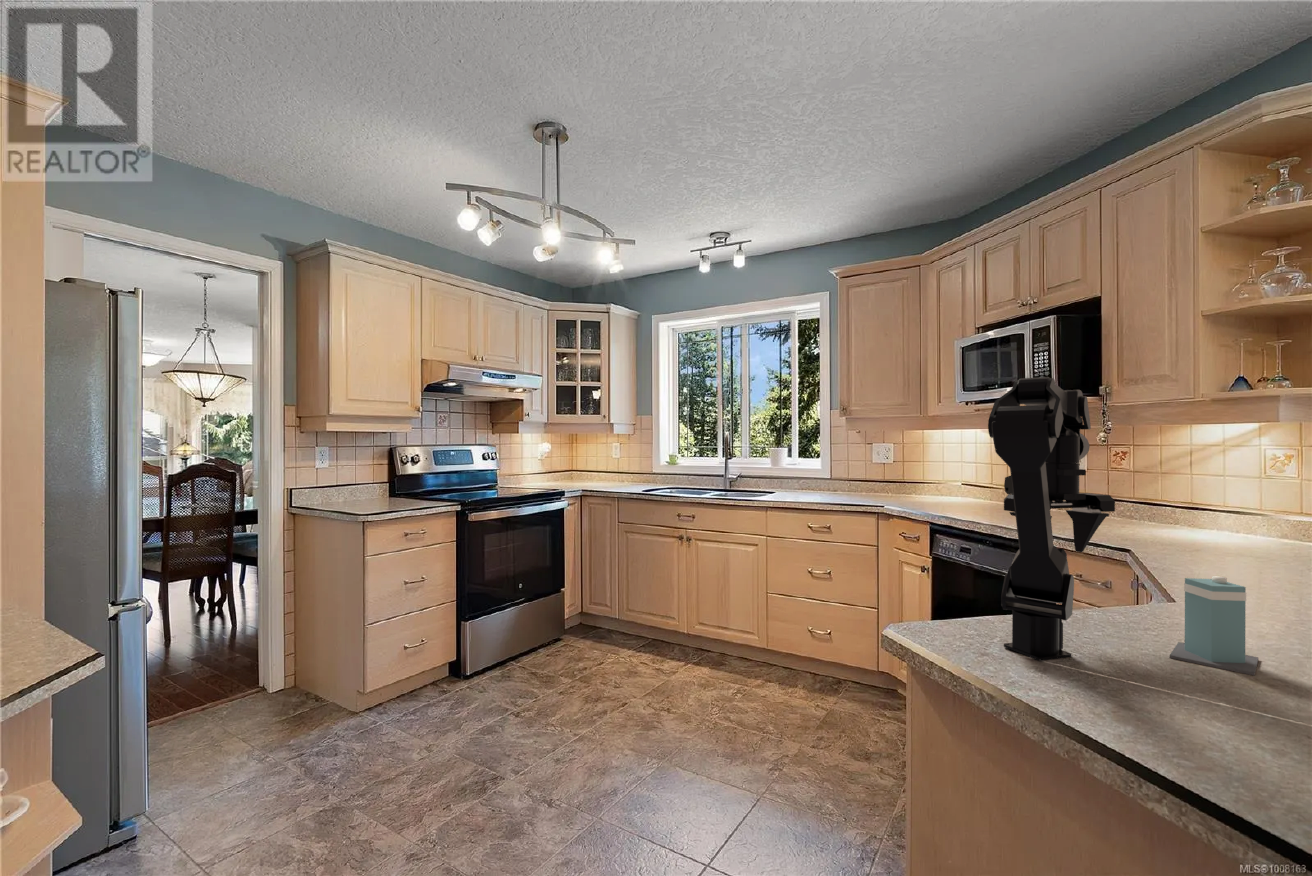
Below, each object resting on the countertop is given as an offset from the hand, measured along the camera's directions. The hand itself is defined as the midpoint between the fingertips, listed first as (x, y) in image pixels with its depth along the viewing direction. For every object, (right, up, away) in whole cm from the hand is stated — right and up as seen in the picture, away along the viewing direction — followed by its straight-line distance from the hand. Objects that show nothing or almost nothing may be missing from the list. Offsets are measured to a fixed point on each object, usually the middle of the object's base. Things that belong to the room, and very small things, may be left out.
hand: (1058, 553), depth 104 cm
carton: (+13, -13, -14) cm, 23 cm away
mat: (+13, -13, -14) cm, 24 cm away
